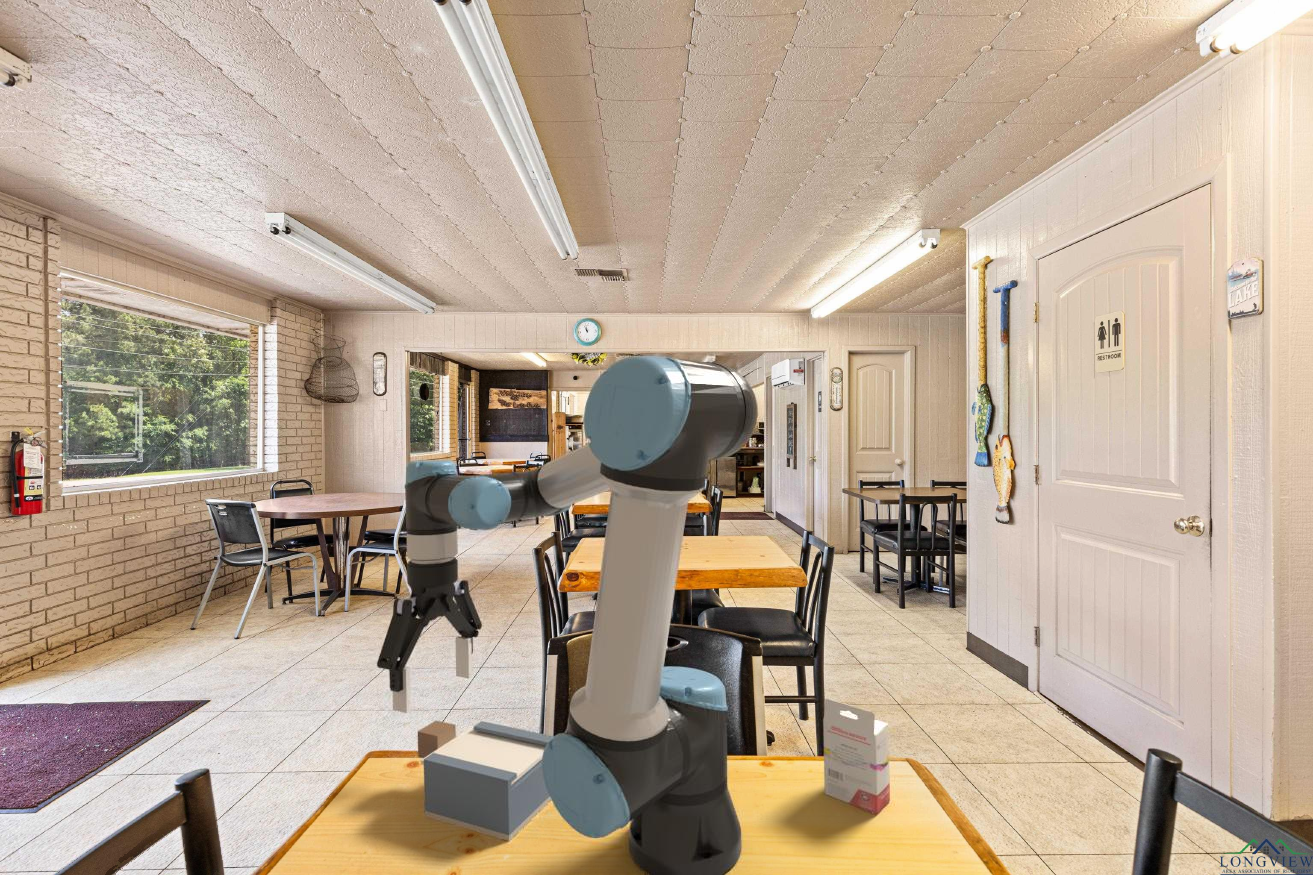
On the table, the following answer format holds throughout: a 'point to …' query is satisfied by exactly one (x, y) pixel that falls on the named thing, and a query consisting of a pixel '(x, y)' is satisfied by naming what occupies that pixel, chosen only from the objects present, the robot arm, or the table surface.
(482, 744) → the lid
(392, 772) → the table surface
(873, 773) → the ink cartridge box
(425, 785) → the grey open box
